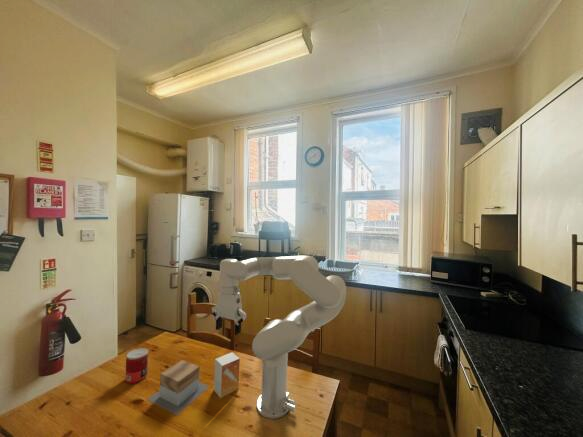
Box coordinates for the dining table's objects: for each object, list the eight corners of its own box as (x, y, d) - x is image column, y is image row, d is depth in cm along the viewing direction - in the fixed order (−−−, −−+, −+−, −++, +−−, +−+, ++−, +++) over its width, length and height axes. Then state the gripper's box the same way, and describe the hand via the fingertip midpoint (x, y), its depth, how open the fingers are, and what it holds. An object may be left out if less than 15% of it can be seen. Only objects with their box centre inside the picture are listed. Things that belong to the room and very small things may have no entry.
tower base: (198, 388, 95) (199, 377, 95) (177, 406, 86) (178, 393, 86) (181, 381, 100) (181, 370, 100) (159, 396, 90) (159, 385, 91)
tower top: (199, 377, 95) (199, 366, 95) (178, 393, 86) (178, 381, 86) (181, 370, 100) (182, 359, 100) (159, 385, 91) (160, 373, 91)
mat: (209, 387, 97) (209, 386, 97) (176, 416, 82) (176, 415, 82) (182, 376, 104) (182, 374, 104) (146, 400, 89) (146, 399, 89)
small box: (220, 399, 91) (221, 366, 91) (213, 390, 95) (214, 358, 95) (239, 389, 96) (240, 358, 96) (231, 381, 101) (232, 351, 101)
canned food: (145, 382, 99) (146, 356, 99) (122, 386, 96) (123, 359, 96) (148, 371, 106) (149, 346, 106) (127, 374, 103) (128, 349, 103)
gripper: (251, 289, 96) (250, 331, 96) (219, 284, 103) (218, 323, 103) (240, 294, 89) (239, 340, 89) (206, 288, 97) (205, 330, 96)
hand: (228, 331), depth 96 cm, fingers open, 9 cm apart
